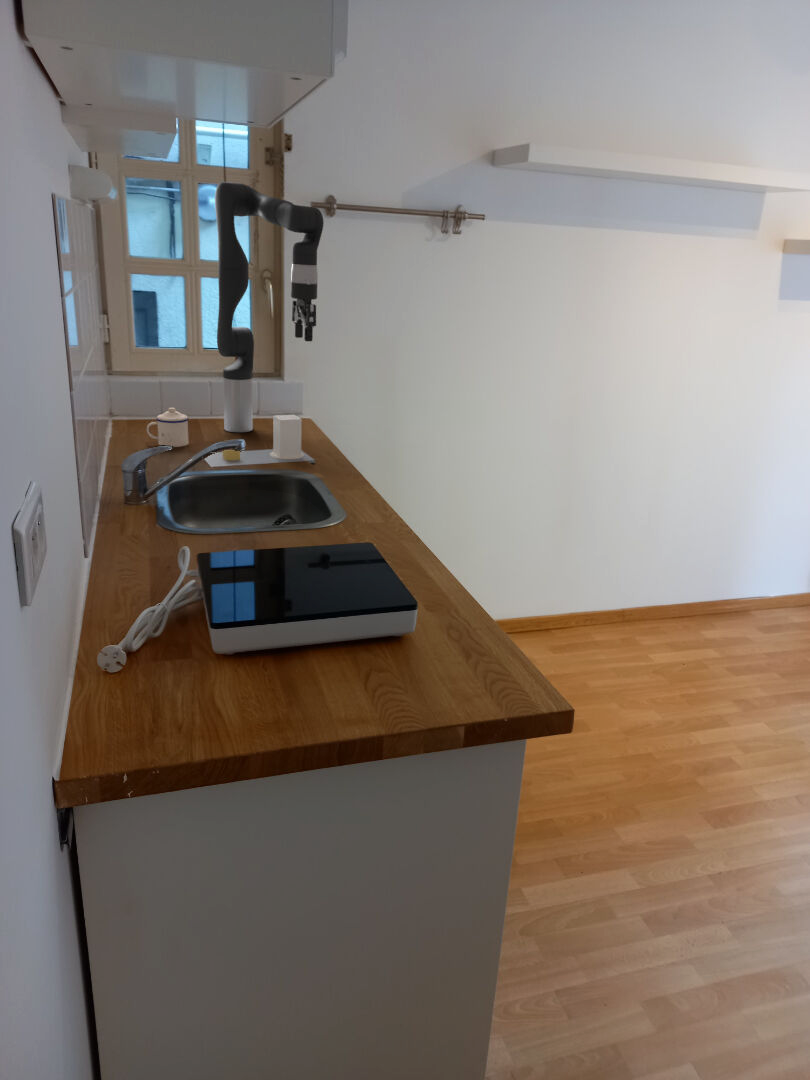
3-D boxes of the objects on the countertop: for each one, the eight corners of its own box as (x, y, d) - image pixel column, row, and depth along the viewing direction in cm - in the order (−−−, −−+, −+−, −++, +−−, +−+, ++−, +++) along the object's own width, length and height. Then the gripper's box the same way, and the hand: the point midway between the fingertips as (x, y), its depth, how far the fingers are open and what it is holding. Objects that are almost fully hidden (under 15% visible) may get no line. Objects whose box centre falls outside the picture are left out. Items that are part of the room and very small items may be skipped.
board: (199, 456, 225) (198, 452, 224) (298, 451, 238) (298, 447, 237) (211, 470, 212) (211, 466, 212) (315, 463, 225) (315, 459, 225)
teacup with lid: (190, 443, 239) (188, 405, 235) (188, 450, 231) (186, 411, 227) (149, 442, 237) (147, 404, 233) (146, 450, 229) (143, 410, 224)
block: (222, 457, 222) (222, 446, 221) (236, 456, 224) (236, 446, 223) (226, 460, 219) (225, 450, 218) (240, 459, 221) (239, 449, 220)
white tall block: (273, 452, 230) (273, 415, 226) (294, 451, 233) (294, 414, 229) (280, 457, 224) (280, 420, 221) (301, 456, 227) (301, 419, 223)
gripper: (284, 279, 227) (283, 336, 233) (299, 282, 216) (299, 342, 221) (308, 280, 231) (307, 336, 236) (325, 283, 219) (324, 342, 224)
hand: (303, 339), depth 229 cm, fingers open, 8 cm apart
